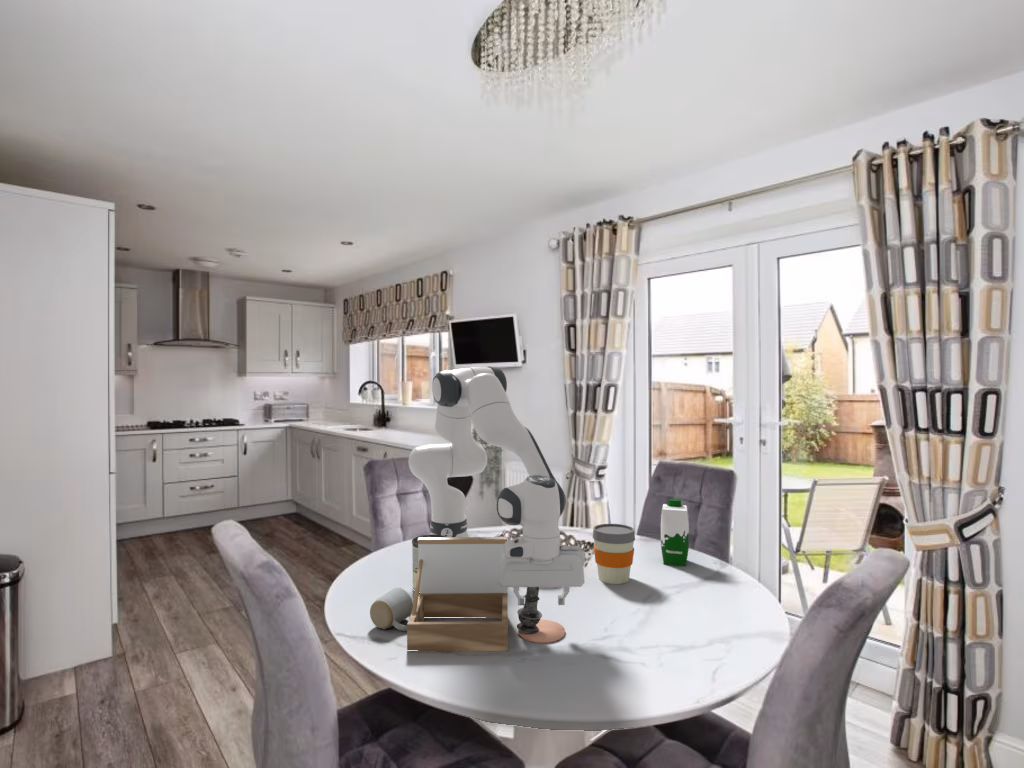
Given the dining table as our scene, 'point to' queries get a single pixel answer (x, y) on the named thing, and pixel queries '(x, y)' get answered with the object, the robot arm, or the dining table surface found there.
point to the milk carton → (674, 532)
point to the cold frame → (459, 623)
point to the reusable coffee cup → (613, 552)
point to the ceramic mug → (391, 609)
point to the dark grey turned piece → (529, 612)
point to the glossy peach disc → (545, 632)
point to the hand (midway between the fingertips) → (541, 604)
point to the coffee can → (415, 556)
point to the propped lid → (458, 565)
